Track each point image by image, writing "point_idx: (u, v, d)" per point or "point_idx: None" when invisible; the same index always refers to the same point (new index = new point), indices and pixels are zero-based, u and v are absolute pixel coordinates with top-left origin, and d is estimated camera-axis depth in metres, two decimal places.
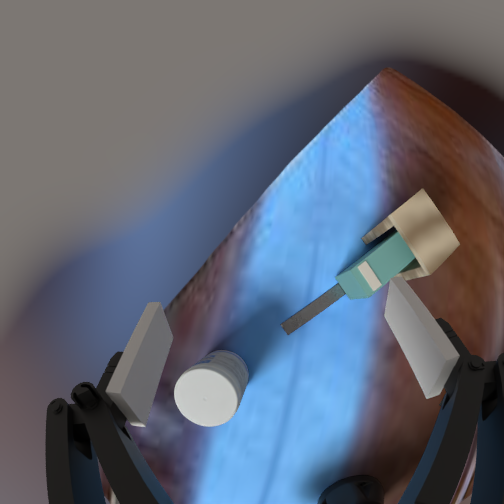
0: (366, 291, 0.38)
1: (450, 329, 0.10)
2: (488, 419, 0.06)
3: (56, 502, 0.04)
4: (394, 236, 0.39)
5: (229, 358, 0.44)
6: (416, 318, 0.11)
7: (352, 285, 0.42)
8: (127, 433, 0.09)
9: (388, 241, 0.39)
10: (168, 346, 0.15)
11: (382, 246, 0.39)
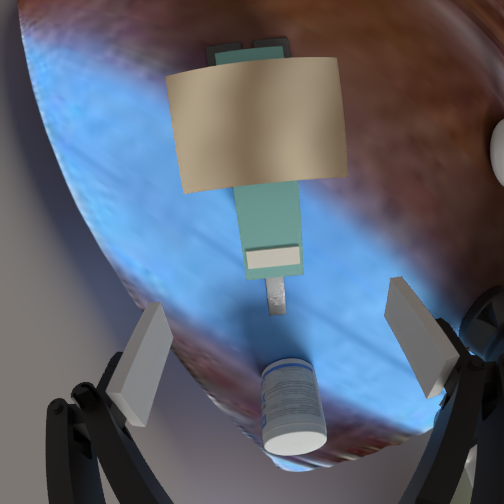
0: (292, 273, 0.24)
1: (450, 329, 0.10)
2: (488, 419, 0.06)
3: (56, 502, 0.04)
4: None
5: (274, 387, 0.39)
6: (416, 318, 0.11)
7: None
8: (127, 433, 0.09)
9: (236, 191, 0.21)
10: (168, 346, 0.15)
11: (238, 208, 0.22)
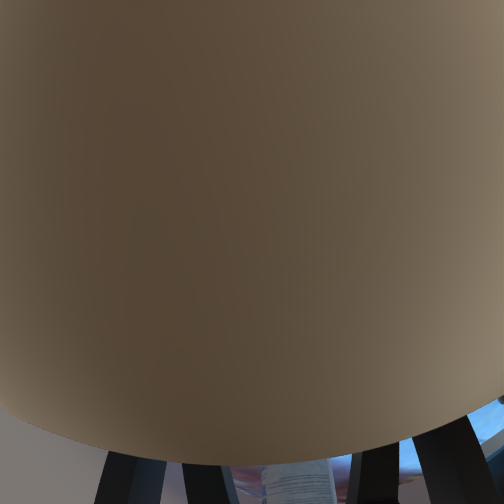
0: None
1: None
2: None
3: (109, 483, 0.06)
4: None
5: (278, 482, 0.25)
6: None
7: None
8: None
9: None
10: None
11: None
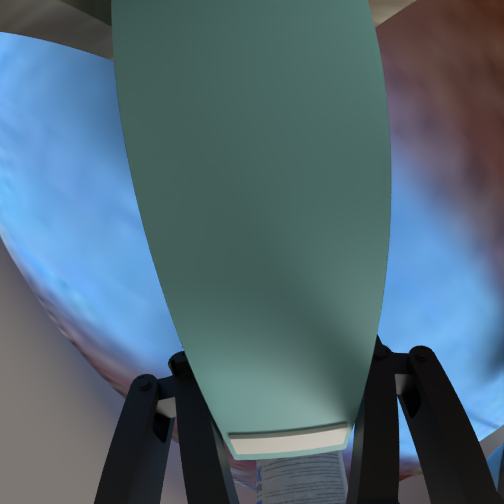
0: (324, 451, 0.10)
1: None
2: (416, 416, 0.08)
3: (109, 483, 0.06)
4: (173, 296, 0.06)
5: (275, 462, 0.21)
6: None
7: None
8: None
9: (189, 341, 0.07)
10: None
11: (202, 376, 0.07)
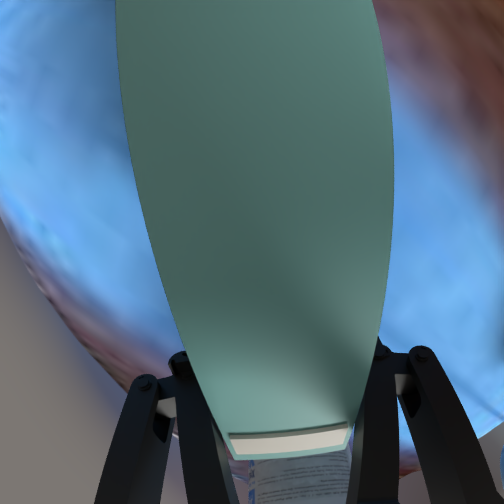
0: (324, 451, 0.10)
1: None
2: (416, 416, 0.08)
3: (109, 483, 0.06)
4: (175, 296, 0.06)
5: None
6: None
7: None
8: None
9: (190, 342, 0.07)
10: None
11: (203, 377, 0.07)
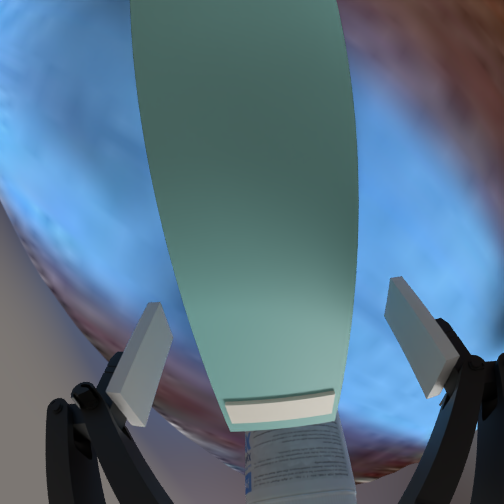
0: (314, 422, 0.11)
1: (450, 329, 0.10)
2: (488, 419, 0.06)
3: (56, 502, 0.04)
4: (178, 260, 0.07)
5: None
6: (416, 318, 0.11)
7: None
8: (127, 433, 0.09)
9: (190, 302, 0.08)
10: (168, 346, 0.15)
11: (201, 337, 0.09)
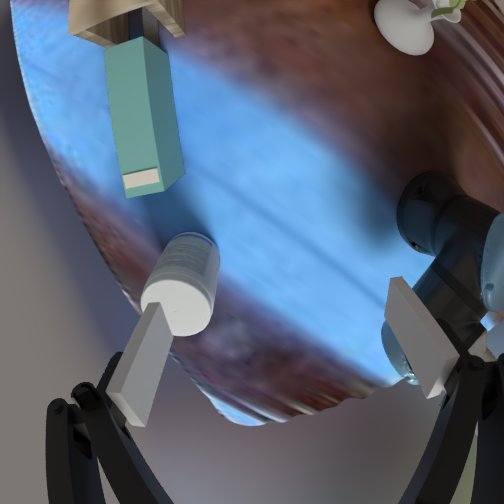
0: (156, 190, 0.30)
1: (450, 329, 0.10)
2: (488, 419, 0.06)
3: (56, 502, 0.04)
4: (113, 122, 0.26)
5: (164, 251, 0.40)
6: (416, 318, 0.11)
7: None
8: (127, 433, 0.09)
9: (115, 133, 0.27)
10: (168, 346, 0.15)
11: (117, 145, 0.28)
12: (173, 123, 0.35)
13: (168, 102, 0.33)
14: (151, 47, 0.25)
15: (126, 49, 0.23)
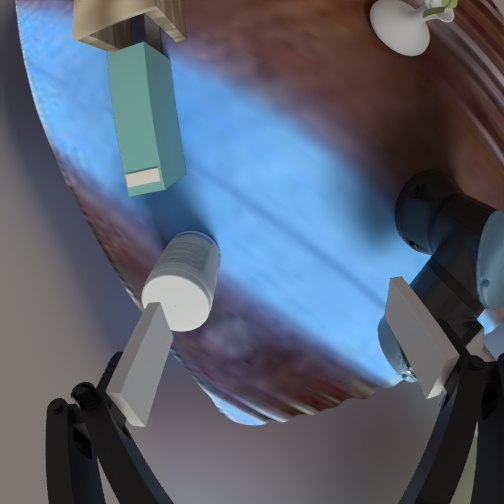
0: (157, 189, 0.32)
1: (450, 329, 0.10)
2: (488, 419, 0.06)
3: (56, 502, 0.04)
4: (116, 124, 0.28)
5: (166, 249, 0.41)
6: (416, 318, 0.11)
7: None
8: (127, 433, 0.09)
9: (118, 135, 0.29)
10: (168, 346, 0.15)
11: (119, 145, 0.29)
12: (174, 125, 0.36)
13: (169, 104, 0.34)
14: (152, 52, 0.27)
15: (128, 54, 0.24)
